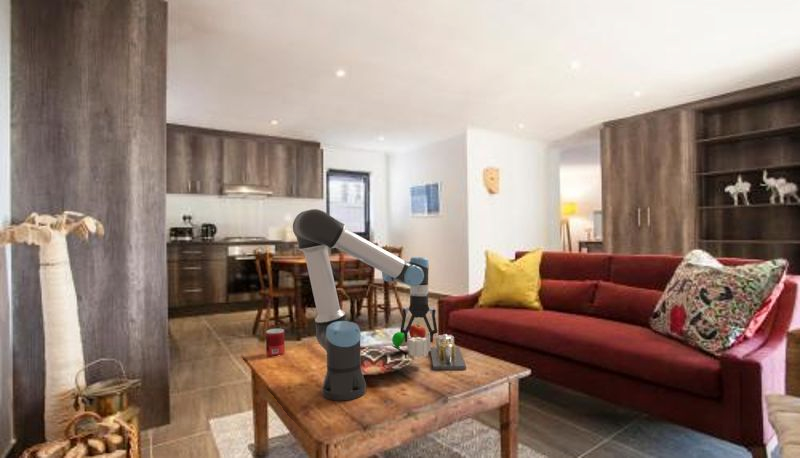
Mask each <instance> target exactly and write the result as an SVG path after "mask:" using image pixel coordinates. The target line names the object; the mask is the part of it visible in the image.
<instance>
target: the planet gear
mask: <svg viewBox="0 0 800 458" xmlns="http://www.w3.org/2000/svg"><path fill="white" fill-rule="evenodd" d="M408 355H410V357H417V358H421V357H424V358H425V357H427V356H428V355H429V351H428V337H427V338H426V337H424V338H420V337H417V338H414V337H413V338H411V339H409V351H408Z"/></svg>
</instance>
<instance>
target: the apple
mask: <svg viewBox="0 0 800 458" xmlns="http://www.w3.org/2000/svg"><path fill="white" fill-rule="evenodd" d="M426 332H427V331H426V328H425V326H424V325H422V324H419V323H415V324H412V325H411V327H410V329H409V331H408V333H409V337H412V338H413V337H414V338H417V337H420V338H426V337H425V336H426Z"/></svg>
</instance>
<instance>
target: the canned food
mask: <svg viewBox="0 0 800 458" xmlns="http://www.w3.org/2000/svg"><path fill="white" fill-rule="evenodd" d="M265 344H266V345H265V350H266V356H267V355H268V356H278V355H281V356H283V355H284V354H285V330H284V328H271V329H268V330H266V332H265ZM282 354H283V355H282ZM268 356H267V357H268ZM278 357H279V356H278Z"/></svg>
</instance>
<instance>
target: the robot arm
mask: <svg viewBox="0 0 800 458" xmlns="http://www.w3.org/2000/svg"><path fill="white" fill-rule="evenodd" d="M292 232H293V234H294V236H295V237H296V242H297V246H298V249H299V251H301V252H303V254H304V258H305V264H306V267H307V272H308V277H309V282H310V285H311V289H312V294H313V298H314V299H313V300H314V303H315V307H316V313H317V316H316V317H315V319H314V324H315V328H316V330H315V334H316V335H315V337H316V341H317V342H318V344H319V345H320V346H321V347H322V348H323V349H324V350H325V352H326V373H325V377H324V381H323V384H322V388H321V389H322V390H321V392H322V393H321V394H322V396H323V398H326V399H328V400H331V401H339V402H340V401H341V402H342V401H350V400H354V399H357V398H360V397H362V396H364V395H365V394H366V392H367V383H366V379H365V378H364V374H363V371H362V367H361V364H362V363H361V359H362V357H361V337H362V336H361V335H362V334H361V329H360V326H359V324H357V323H355V322H353V321H349V320H348V319H347V314H346V312H345V311H344V310H342V309H341V306H340V303H339V302H340V301H339V298H338V293H337V288H336V283H335V279H334V274H333V269H332V265H331V260H330V255H329V251H328V248H329V249H335V248H336V249H337V250H339V251H342V252H343V253H346V254H348V255H349V256H350V257H353V258H355V259H357V260H359V261H361V262H363V263H365V264H366V265H369V266H370V267H372V268H374V269H376V270H378V271H380V272H381V275H382V279H383V282H384V281H385V282H390V283H392V282H395V283H396V282H397V283H400V284H403V285H407V286H409V293H410V295H409V306H408V307H403V308H402V319H401V324H400V331H399V332H401V333H404V334H405V342H407V345H406V347H407V348H406V349H407V351H408V352H409V337H410V333H409V329H410V327H411V326H412V325H413V322H414V320H415V319H416V318H420V319H421V318H423V320H424V323H425V326H426V327H427V330H428V332H429V333H427V340H428V352H431V349H430V348H431V343H433V342H434V335H435V334H438V327H437V321H436V308H431V307H430V306H429V295H428V294H429V270H430V268H429V266H430V265H429V259H428V258H427V257H424V256H422V257H421V256H414V257H411V258H410V259H409V261H406V260H404V259H403V258H401V257H399V256H397V255H395V254H393V253H392V252H389V251H387V250H386V249H385V248H382V247H381V246H379V245H377V244H375V243H373V242H371V241H369V240H367V239H366V238H364V237H362V236H361V235H358V234H357V233H355V232H353V231H352V230H350V229H348V228H347V227H346V224H344V223H343V222H341V221H340V220H338V219H336V218H334V217H333V216H331V215H330V214H329V213H327V212H325V211H323V210H321V209H317V208H311V209H309V210H304V211H301V212H300V213H298V214H297V215H296V217H294V219H293V223H292ZM409 312H410V314H411V317H410V319H409V321H408V323H407V326H406V328H405V324H406V318H407V314H408V313H409ZM428 313H430V314H431V318H432V325H433V329H432V327H431V324H430V321H429V320H428V317H427V314H428Z"/></svg>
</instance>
